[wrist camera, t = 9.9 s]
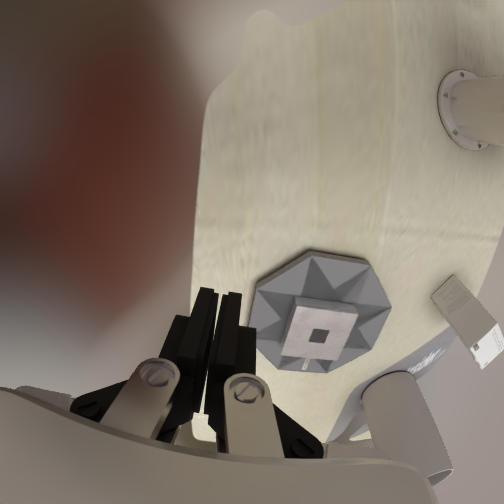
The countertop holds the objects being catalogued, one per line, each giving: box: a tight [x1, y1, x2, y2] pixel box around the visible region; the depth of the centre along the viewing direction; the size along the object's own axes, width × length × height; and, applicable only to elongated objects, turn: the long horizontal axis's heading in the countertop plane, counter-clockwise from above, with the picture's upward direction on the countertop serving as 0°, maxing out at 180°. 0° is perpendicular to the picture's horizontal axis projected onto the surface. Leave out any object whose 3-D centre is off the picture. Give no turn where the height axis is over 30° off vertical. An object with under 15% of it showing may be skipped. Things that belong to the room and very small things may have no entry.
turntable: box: [248, 251, 392, 373], centre depth 42 cm, size 21×21×2 cm
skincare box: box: [431, 275, 504, 369], centre depth 36 cm, size 8×6×15 cm
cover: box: [280, 296, 358, 361], centre depth 40 cm, size 9×9×3 cm
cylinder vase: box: [362, 372, 454, 487], centre depth 40 cm, size 12×12×25 cm
